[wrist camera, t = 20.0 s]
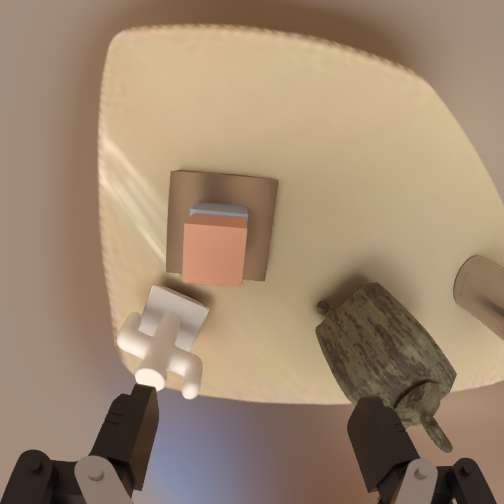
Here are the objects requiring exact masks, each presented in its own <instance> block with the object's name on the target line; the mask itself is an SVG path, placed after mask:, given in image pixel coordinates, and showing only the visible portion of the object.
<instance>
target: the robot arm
mask: <svg viewBox="0 0 504 504" xmlns="http://www.w3.org/2000/svg"><path fill="white" fill-rule="evenodd" d="M454 297H455V300H456V302H457V303H458V304H459V305H461V306H462V307H463V308H464V309H466V310H467V311H468V312H469V313H471V314H472V315H473V316H474V317H476V318H477V319H478V320H479V321H481V322H482V323H483V324H484V325H486V326H487V327H488V328H489V329H490V330H492V331H493V332H494V333H495V334H496V335H498V336H499V337H500V338H501V339H502V340H504V268H503V267H501V266H499V265H497V264H495V263H493V262H491V261H489V260H487V259H485V258H484V257H482V256H474V257H472V258H470V259H469V260H468V261H467V262H466V263H465V264H464V265H463V266H462V268H461V269H460V271H459V273H458V275H457V278H456V281H455V285H454ZM158 422H159V408H158V401H157V392H156V388H155V387H153V386H148V385H143V384H138V383H137V384H135V386H134V388H133V390H132V393H131V395H127V394H121V395H120V396H118V397H117V398H116V399H115V400H114V401H113V402H112V404H111V406H110V409H109V411H108V414H107V415H106V418H105V422H104V423H103V425H102V427H101V429H100V432H99V434H98V436H97V439H96V441H95V443H94V446H93V448H92V451H91V452H90V454H89V455H88V456H86V457H84V458H82V459H80V460H79V461H76V462H65V461H56V460H50V458H49V457H48V456H47V455H46V454H45V453H43V452H41V451H39V450H28V451H25V452H24V453H22V454H21V455H20V457H19V459H18V461H17V463H16V465H15V468H14V470H13V472H12V474H11V477H10V479H9V482H8V484H7V487H6V489H5V492H4V494H3V497H2V499H1V502H0V504H133V502H132V500H131V497H132V493H133V489H134V490H139V491H142V488H143V483H144V479H145V475H146V471H147V466H148V462H149V458H150V454H151V450H152V446H153V442H154V438H155V434H156V430H157V427H158ZM405 430H406V429H405V428H404V426H403V425H402V422H401V420H400V418H399V416H398V414H397V413H396V412H395V411H394V410H392V409H391V408H390V407H389V406H385V405H384V403H383V401H382V399H381V398H380V397H379V396H369V397H361V398H360V399H359V400H358V403H357V405H356V407H355V409H354V411H353V413H352V415H351V417H350V419H349V421H348V425H347V431H348V435H349V438H350V441H351V443H352V446H353V449H354V452H355V455H356V458H357V461H358V464H359V467H360V470H361V473H362V476H363V478H364V482H365V484H366V488H367V490H368V493H370V492H375V491H378V492H379V496H378V497H377V499H376V501H375V504H453V502H452V500H453V499H454V498H455V499H456V502H457V504H497V503H496V501H495V499H494V497H493V494H492V492H491V490H490V488H489V486H488V484H487V482H486V480H485V478H484V476H483V474H482V472H481V470H480V468H479V467H478V465H477V463H476V462H475V461H473V460H472V459H470V458H461V459H459V460H458V461H457V462H456V463H455V464H454V465H453V466H440V467H439V466H435V465H434V464H433V463H432V462H431V461H429V460H427V459H421V458H420V456H419V455H418V453H417V451H416V449H415V447H414V445H413V443H412V441H411V439H410V437H409V436H408V434H407V432H406V431H405Z"/></svg>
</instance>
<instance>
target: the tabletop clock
mask: <svg viewBox="0 0 504 504" xmlns="http://www.w3.org/2000/svg"><path fill="white" fill-rule="evenodd" d="M317 310H318V312H319V313H321V314H325V313H329V314H331V315H330V316H328V317H327V318H326V319H325V320H324V321H323V322H322V323H321V324H320V325H318V326H317V327H316V335H317V338H318V341H319V344H320V346H321V349H322V352H323V354H324V356H325V358H326V360H327V362H328V365H329V367H330V369H331V371H332V373H333V375H334V377H335V379H336V381H337V382H338V384H339V386H340V388H341V389H342V391H343V392H344V394H345V396H346V397H347V399H348V400H350V401H351V402H352V403H353V404H354V405H355V406H356V405H357V403H358V400H359V399H360V398H361V397H369V396H379V397H380V398H381V399H382V401H383V403H384V405H385V406H389V407H390V408H391V409H392V410H394V411H395V412H396V413H397V414H398V416H399V418H400V420H401V422H402V425H403V426H404V428H405V429H406V428H408V427H409V426H410V425H411V426H418V425H420V424H422V425H423V427H424V428H425V430H426V432H427V433H428V435H429V436H430V438H431V439H432V440H433V442H434V443H435V444H436V445H437V446H438V447H439V448H440V449H441V450H443V451H444V452H446V453H450V452H451V451H452V445H451V443H450V442H449V440H448V438H447V437H446V436H445V434H444V433H443V431H442V429H441V428H440V427H439V426H438V423H437V422H436V420H435V419H434V417H433V416H434V414H435V413H436V411H437V410H438V408H439V405H440V400H441V399H442V398H443V397H445V396H446V395H447V394H448V393H449V392H450V390H451V388H452V385H453V383H454V380H455V378H456V375H457V374H456V372H455V370H454V369H453V367H452V366H451V364H450V362H449V361H448V359H447V358H446V356H445V355H444V354H443V352H442V351H441V349H440V348H439V346H438V345H437V344H436V342H435V341H434V340H433V338H432V337H431V336H430V334H429V333H428V332H427V331H426V330H425V328H424V327H423V326H422V325H421V324H420V323H419V322H418V321H417V320H416V319H415V318H414V317H413V316H412V315H411V314H410V313H409V312H408V311H407V310H406V309H405V308H404V307H403V306H402V305H401V304H400V303H399V302H398V301H397V300H396V299H395V298H394V297H393V296H392V295H391V294H390V293H389V292H388V291H387V290H385V289H384V288H383V287H382V286H381V285H380V284H379V283H377V282H375V283H372V284H368V285H364V286H360V287H359V288H358V289H357V290H356V291H355V292H354V293H353V294H352V295H351V296H350V297H349V298H348V299H347V300H346V301H345V302H344V303H342V304H341V305H340V306H339V307H338V308H337V309H336V310H335V311H334V310H331V309H329V306H328V304H327V303H325V302H321V303H319V304H318V305H317ZM436 432H437V434H438V435H440V436H441V438H442V439H443V440H442V439H441V438H440V437H439V436H438V435H437V434H436Z"/></svg>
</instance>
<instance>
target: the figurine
mask: <svg viewBox="0 0 504 504" xmlns="http://www.w3.org/2000/svg"><path fill="white" fill-rule="evenodd" d="M209 310H210V309H208V308H207V307H206V306H204V305H203V304H201V303H200V302H199V301H197V300H195V299H193V298H190V297H188V296H186V295H183V294H181V293H179V292H177V291H174V290H172V289H170V288H168V287H163V286H158V285H153V286H152V289H151V291H150V294H149V297H148V300H147V303H146V305H145V308H144V311H143V314H142V317H141V316H140V314H139V313H137V312H133V313H131V314H130V315H129V316H128V318H127V320H126V321H125V323H124V324H123V326H122V328H121V329H120V331H119V333H118V336H117V344H118V346H119V347H120V348H121V349H122V350H124V351H126V352H128V353H130V354H133V355H135V356H137V357H139V358H141V359H143V361H142V362H141V363H140V364H139V367H138V369H137V371H136V374H135V378H136V381H137V383H138V384H143V385H148V386H153V387H155V388H156V392H158V391H159V390H161V389H163V388H164V386H165V383H166V379H167V370H168V371H172V372H175V373H178V374H180V375H181V376H182V377H183V386H182V394H183V396H184V397H185V398H187V399H193V398H195V397H196V396H197V395H198V393H199V390H200V384H201V377H202V369H203V364H202V360H201V359H200V357H198V356H197V355H195V354H192V353H190V350H191V348H192V346H193V343H194V341H195V339H196V337H197V335H198V333H199V331H200V329H201V327H202V325H203V323H204V321H205V319H206V316H207V314H208V312H209Z"/></svg>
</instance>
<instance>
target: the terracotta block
mask: <svg viewBox="0 0 504 504" xmlns="http://www.w3.org/2000/svg"><path fill="white" fill-rule="evenodd" d="M246 238H247V223H246V217H237V216H225V215H214V214H201V213H193V214H192V215H191V216H190V218H189V219H188V220H187V221H186V222H185V223H184V242H183V272H182V282H189V283H199V284H210V285H221V286H233V287H241V286H242V276H243V267H244V257H245V247H246Z"/></svg>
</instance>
